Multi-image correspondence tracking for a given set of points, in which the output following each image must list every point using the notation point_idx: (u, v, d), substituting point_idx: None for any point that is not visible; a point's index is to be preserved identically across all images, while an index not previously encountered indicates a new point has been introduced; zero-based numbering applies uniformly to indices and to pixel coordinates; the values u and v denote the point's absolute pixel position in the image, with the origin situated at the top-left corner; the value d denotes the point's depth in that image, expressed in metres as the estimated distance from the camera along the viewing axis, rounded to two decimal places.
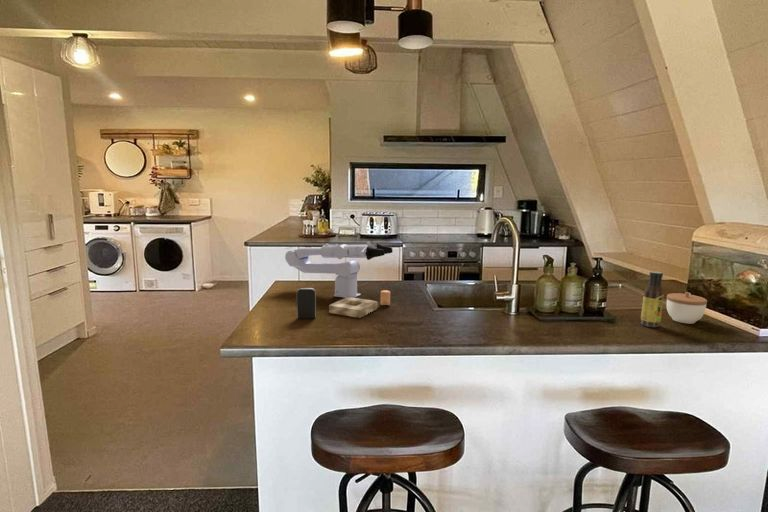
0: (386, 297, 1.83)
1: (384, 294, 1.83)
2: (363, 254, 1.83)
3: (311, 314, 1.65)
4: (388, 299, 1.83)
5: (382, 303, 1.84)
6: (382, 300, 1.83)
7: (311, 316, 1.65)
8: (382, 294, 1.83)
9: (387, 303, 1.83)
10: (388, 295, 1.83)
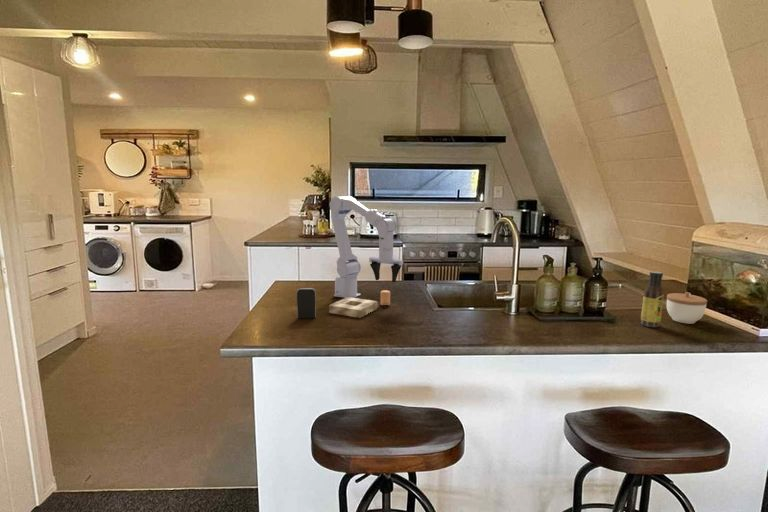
0: (386, 297, 1.83)
1: (384, 294, 1.83)
2: None
3: (311, 314, 1.65)
4: (388, 299, 1.83)
5: (382, 303, 1.84)
6: (382, 300, 1.83)
7: (311, 316, 1.65)
8: (382, 294, 1.83)
9: (387, 303, 1.83)
10: (388, 295, 1.83)
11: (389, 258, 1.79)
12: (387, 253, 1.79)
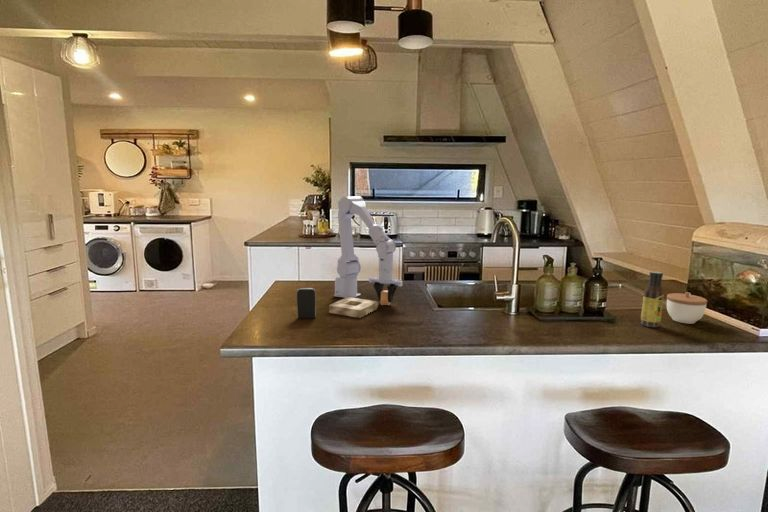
0: (386, 297, 1.83)
1: (384, 294, 1.83)
2: None
3: (311, 314, 1.65)
4: None
5: (382, 303, 1.84)
6: (382, 300, 1.83)
7: (311, 316, 1.65)
8: (382, 294, 1.83)
9: (387, 303, 1.83)
10: None
11: (389, 279, 1.81)
12: (386, 274, 1.80)
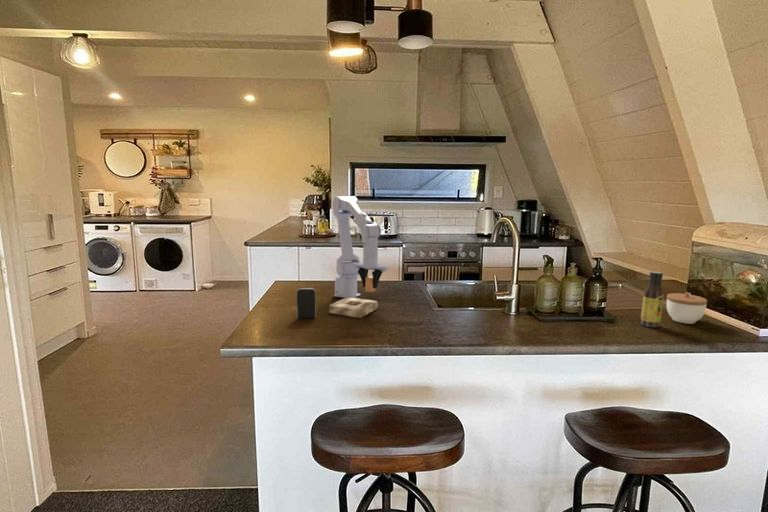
0: (371, 283, 1.77)
1: (369, 280, 1.77)
2: None
3: (311, 314, 1.65)
4: None
5: (367, 289, 1.78)
6: (367, 286, 1.78)
7: (311, 316, 1.65)
8: (367, 280, 1.77)
9: (372, 289, 1.78)
10: None
11: (373, 264, 1.75)
12: (371, 259, 1.74)
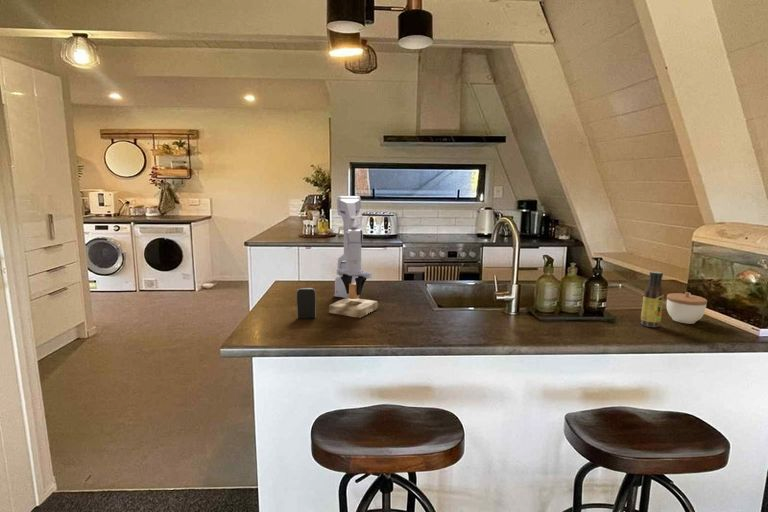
0: (354, 290, 1.73)
1: (352, 287, 1.72)
2: None
3: (311, 314, 1.65)
4: (356, 292, 1.73)
5: (350, 296, 1.74)
6: (350, 293, 1.73)
7: (311, 316, 1.65)
8: (350, 287, 1.73)
9: (355, 296, 1.73)
10: (356, 288, 1.73)
11: (357, 271, 1.71)
12: (354, 265, 1.70)
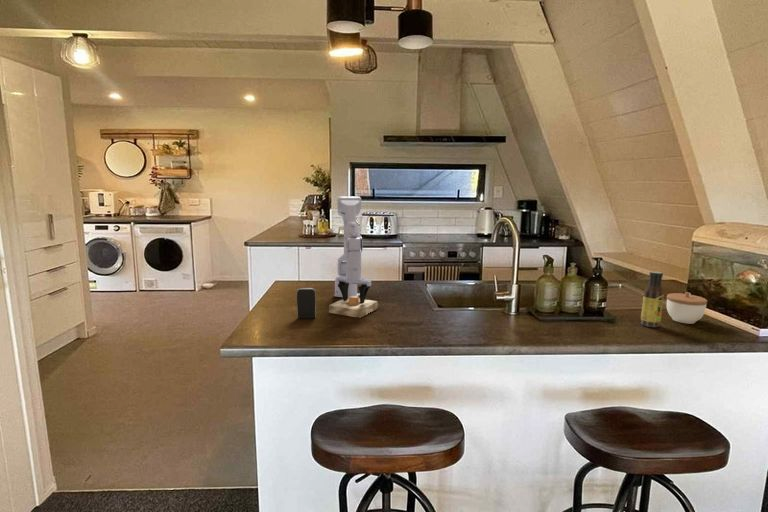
0: (354, 303, 1.74)
1: (352, 300, 1.73)
2: None
3: (311, 314, 1.65)
4: (356, 305, 1.74)
5: None
6: None
7: (311, 316, 1.65)
8: (350, 300, 1.74)
9: None
10: (356, 301, 1.74)
11: (357, 278, 1.71)
12: (354, 273, 1.71)
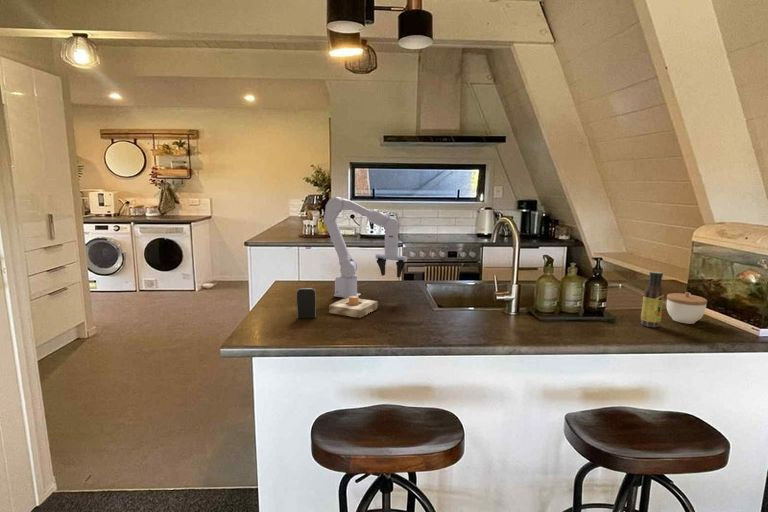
0: (354, 303, 1.74)
1: (352, 300, 1.73)
2: None
3: (311, 314, 1.65)
4: (356, 305, 1.74)
5: None
6: None
7: (311, 316, 1.65)
8: (350, 300, 1.74)
9: None
10: (356, 301, 1.74)
11: (394, 255, 1.91)
12: (392, 250, 1.90)
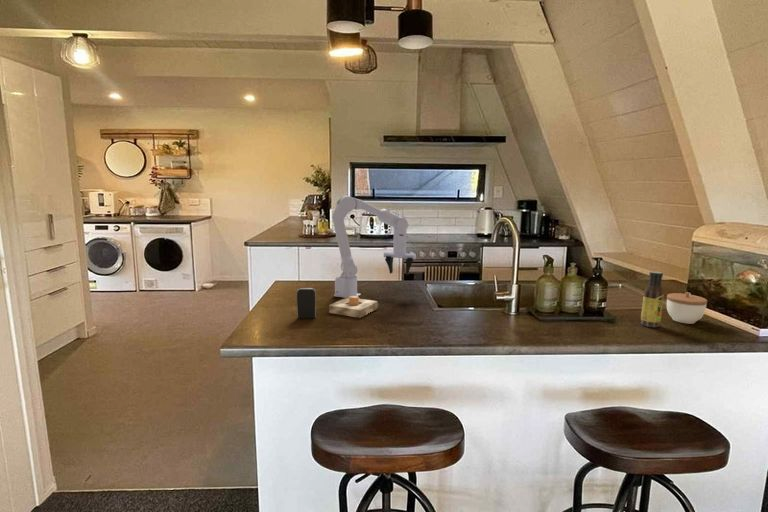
0: (354, 303, 1.74)
1: (352, 300, 1.73)
2: None
3: (311, 314, 1.65)
4: (356, 305, 1.74)
5: None
6: None
7: (311, 316, 1.65)
8: (350, 300, 1.74)
9: None
10: (356, 301, 1.74)
11: (403, 253, 1.97)
12: (401, 248, 1.96)
